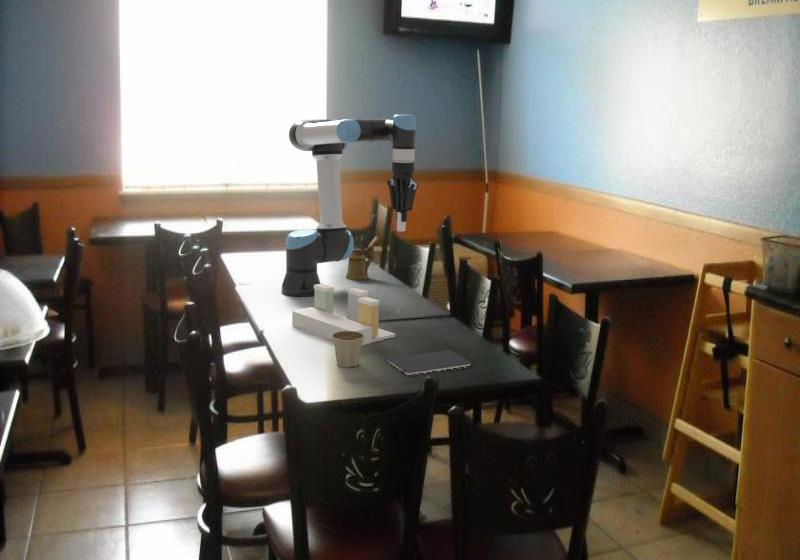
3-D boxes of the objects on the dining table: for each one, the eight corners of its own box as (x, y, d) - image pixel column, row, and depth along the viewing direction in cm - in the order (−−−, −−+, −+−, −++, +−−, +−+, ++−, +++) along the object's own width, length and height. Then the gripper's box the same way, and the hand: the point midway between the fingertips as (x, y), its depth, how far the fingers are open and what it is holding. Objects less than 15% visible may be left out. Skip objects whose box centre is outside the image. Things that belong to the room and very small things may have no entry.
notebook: (449, 354, 245) (386, 363, 236) (450, 349, 245) (386, 358, 235) (472, 368, 234) (406, 378, 225) (472, 362, 234) (407, 372, 224)
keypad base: (334, 316, 280) (334, 302, 279) (395, 336, 260) (395, 321, 258) (292, 325, 268) (292, 310, 267) (352, 347, 247) (352, 331, 246)
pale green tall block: (321, 315, 275) (321, 283, 273) (333, 319, 271) (334, 287, 268) (313, 317, 273) (313, 284, 270) (325, 321, 268) (326, 288, 266)
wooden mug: (379, 280, 336) (381, 236, 331) (347, 280, 333) (347, 236, 329) (377, 275, 344) (378, 232, 340) (345, 275, 342) (345, 232, 338)
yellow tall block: (365, 330, 260) (366, 296, 257) (378, 335, 255) (379, 300, 253) (357, 332, 258) (357, 298, 255) (370, 337, 253) (371, 302, 251)
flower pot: (331, 358, 237) (331, 330, 235) (363, 359, 237) (364, 330, 236) (331, 369, 228) (331, 340, 226) (364, 369, 228) (365, 340, 226)
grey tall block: (354, 320, 271) (355, 287, 268) (367, 324, 267) (368, 291, 264) (346, 322, 269) (347, 289, 266) (359, 326, 264) (360, 292, 262)
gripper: (425, 162, 272) (422, 232, 278) (397, 159, 281) (395, 227, 287) (409, 163, 267) (406, 234, 273) (381, 160, 276) (380, 229, 282)
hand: (401, 230), depth 280 cm, fingers closed
